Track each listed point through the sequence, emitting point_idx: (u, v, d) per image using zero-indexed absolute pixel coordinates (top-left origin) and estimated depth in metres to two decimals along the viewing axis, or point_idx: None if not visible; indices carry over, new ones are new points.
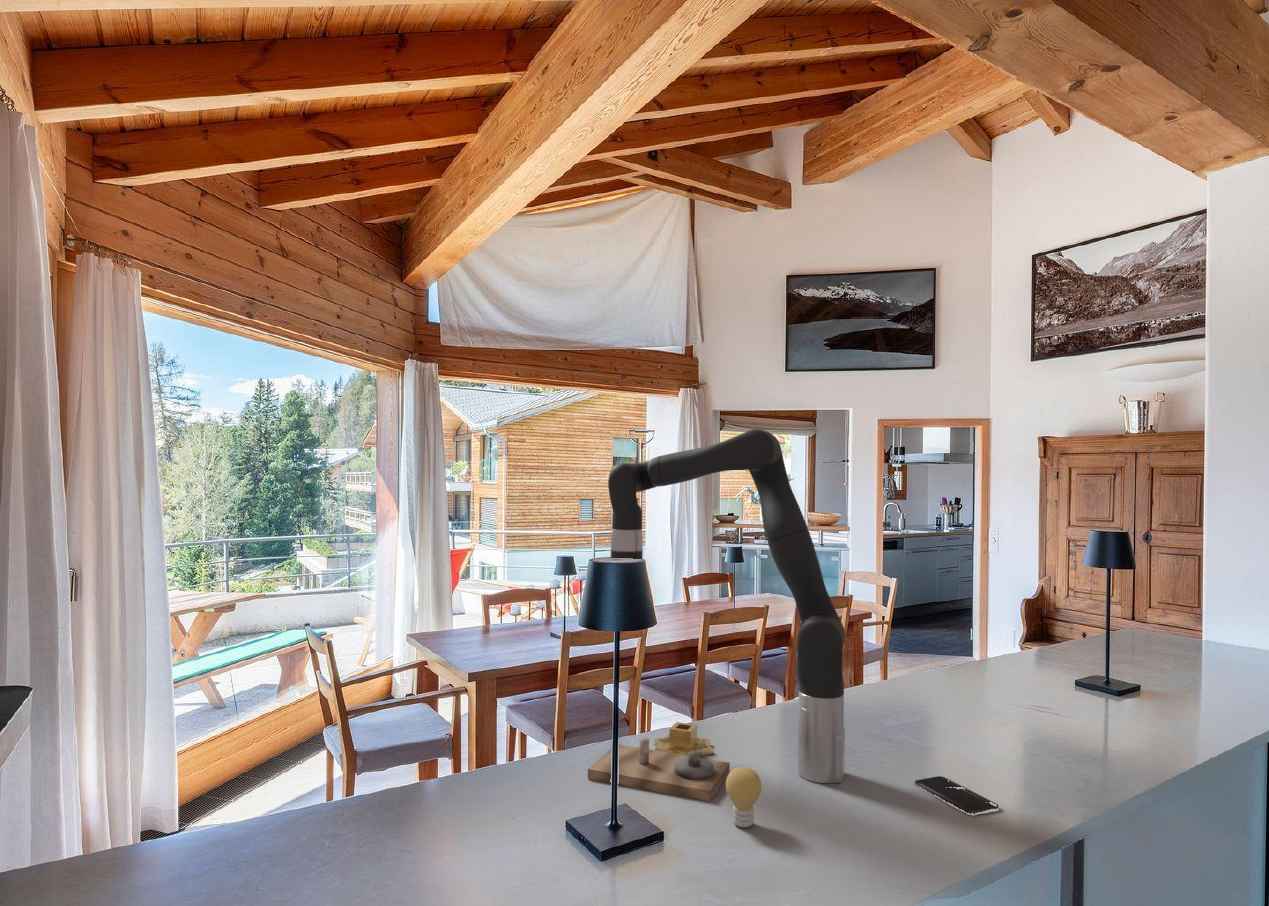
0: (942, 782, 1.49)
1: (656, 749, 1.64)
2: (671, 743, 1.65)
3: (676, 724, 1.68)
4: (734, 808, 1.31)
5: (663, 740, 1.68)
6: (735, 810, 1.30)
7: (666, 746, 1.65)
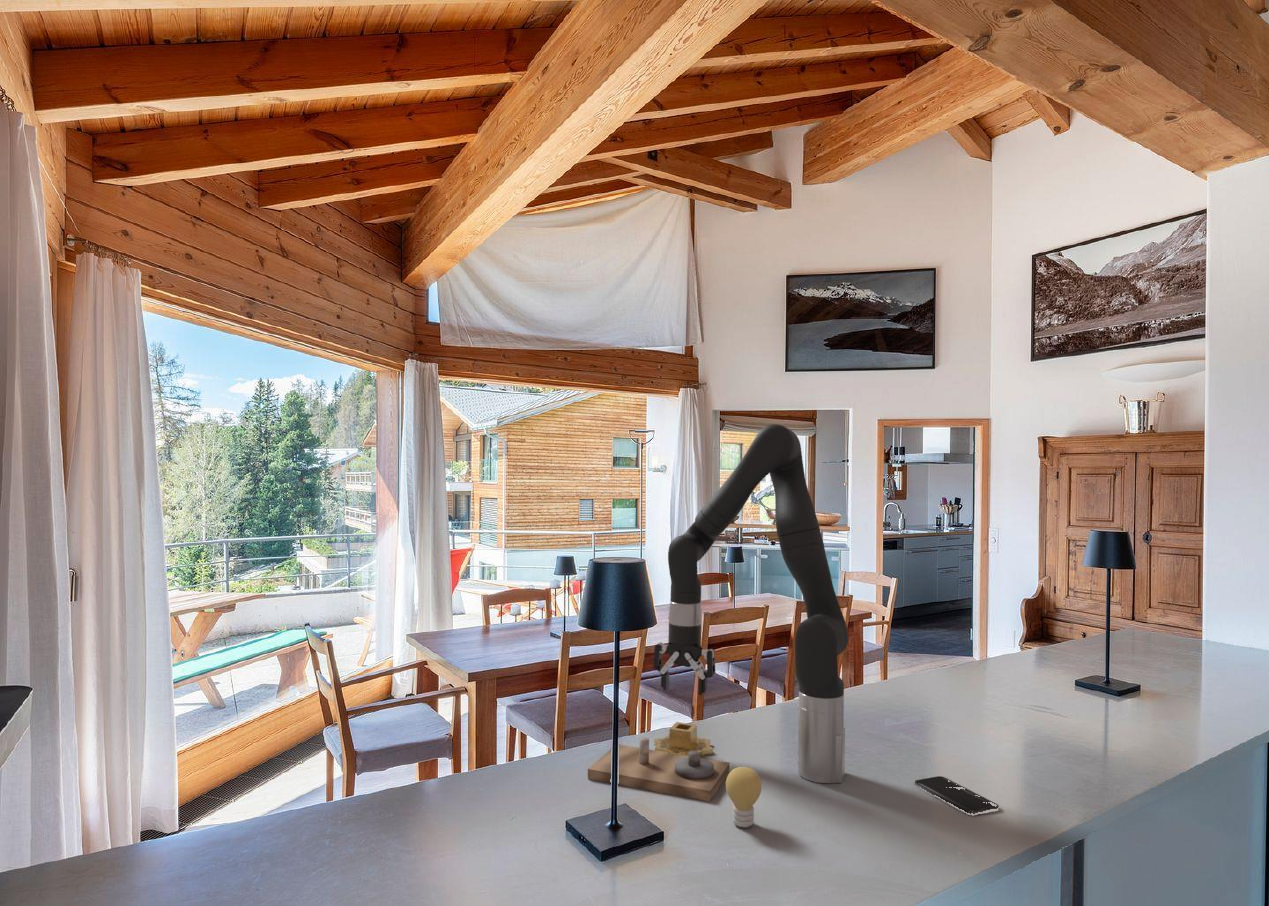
0: (942, 782, 1.49)
1: (656, 749, 1.64)
2: (671, 743, 1.65)
3: (676, 724, 1.68)
4: (734, 808, 1.31)
5: (663, 740, 1.68)
6: (735, 810, 1.30)
7: (666, 746, 1.65)
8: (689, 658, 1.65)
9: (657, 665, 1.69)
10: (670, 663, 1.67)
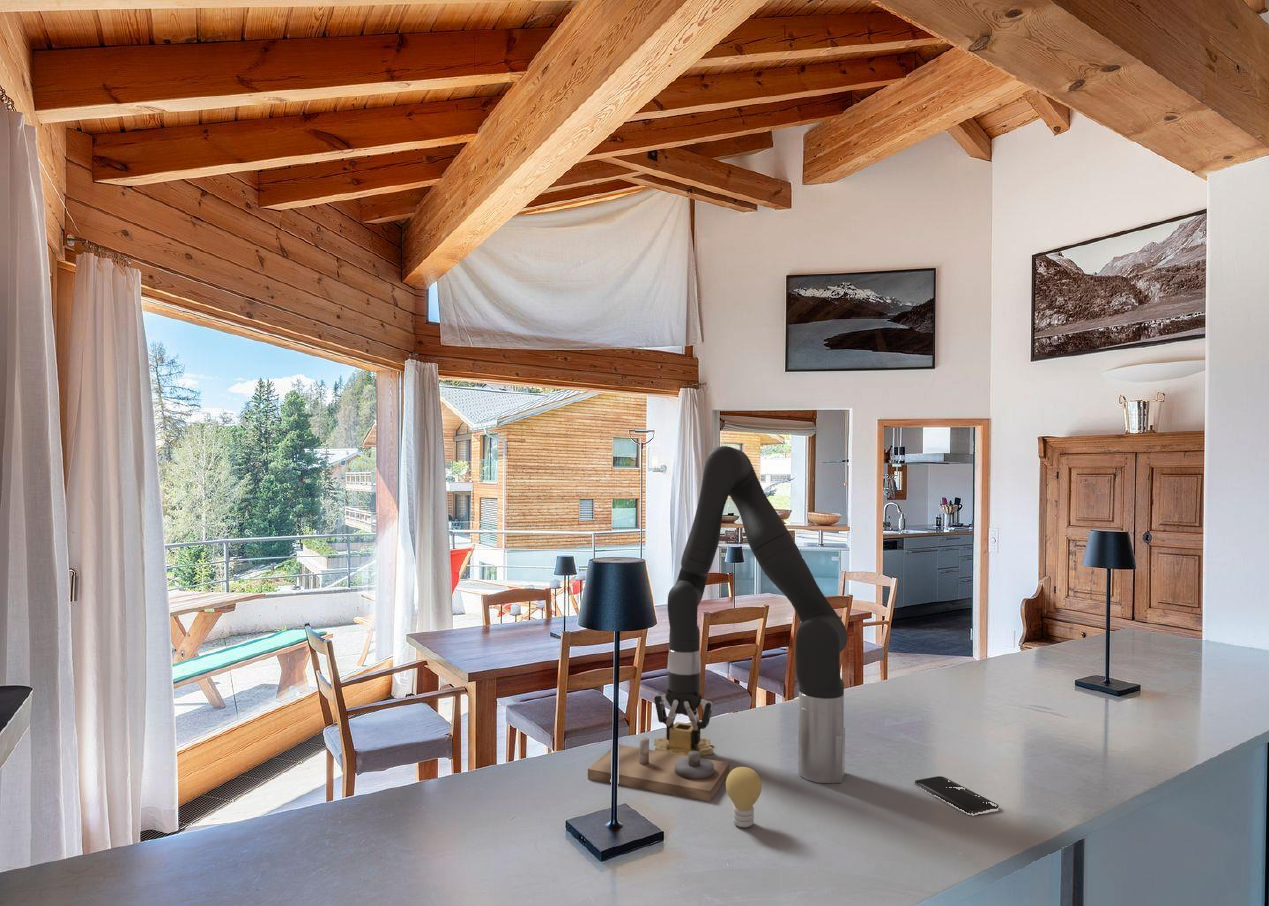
0: (942, 782, 1.49)
1: (656, 749, 1.64)
2: (671, 743, 1.65)
3: (676, 724, 1.68)
4: (734, 808, 1.31)
5: (663, 740, 1.68)
6: (735, 810, 1.30)
7: (666, 746, 1.65)
8: (687, 707, 1.65)
9: (662, 717, 1.68)
10: (672, 713, 1.66)
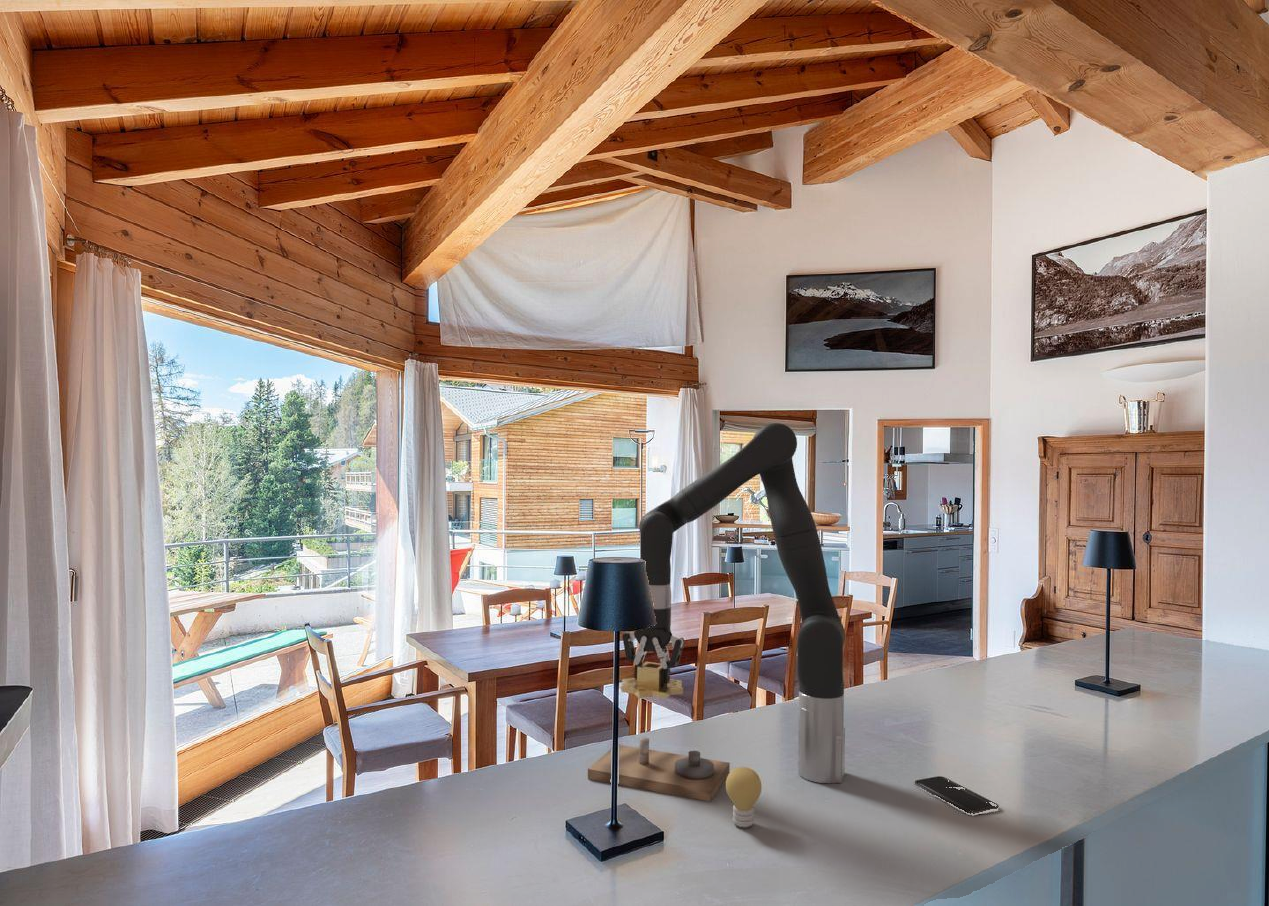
0: (942, 782, 1.49)
1: (622, 687, 1.54)
2: (639, 682, 1.55)
3: (645, 663, 1.59)
4: (734, 808, 1.31)
5: (631, 680, 1.59)
6: (735, 810, 1.30)
7: (633, 685, 1.55)
8: (656, 644, 1.55)
9: (630, 655, 1.58)
10: (641, 650, 1.56)
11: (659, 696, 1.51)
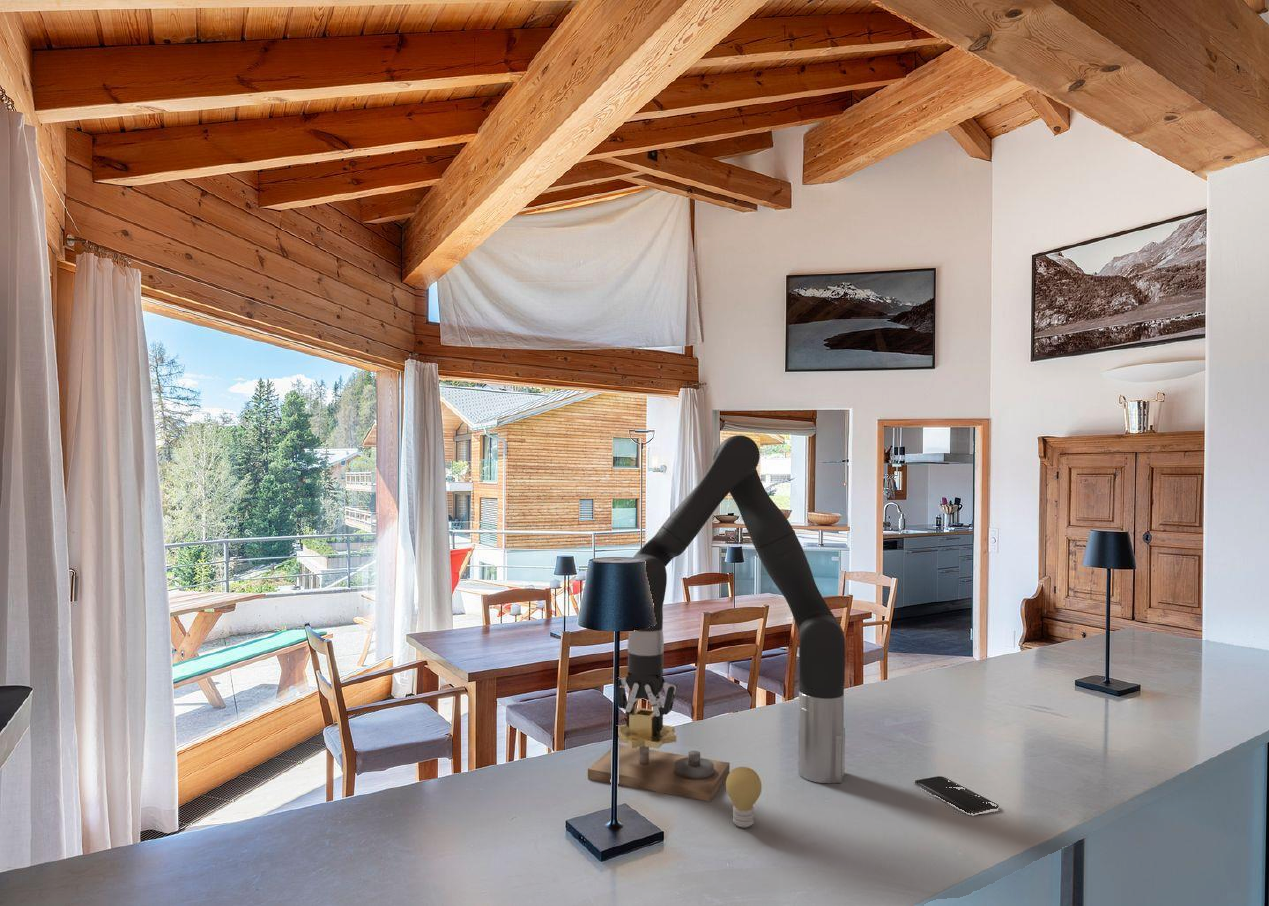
0: (942, 782, 1.49)
1: None
2: (631, 730, 1.52)
3: (637, 710, 1.55)
4: (734, 808, 1.31)
5: (623, 727, 1.55)
6: (735, 810, 1.30)
7: (625, 733, 1.52)
8: (649, 691, 1.51)
9: (621, 702, 1.54)
10: (633, 698, 1.53)
11: (652, 746, 1.47)
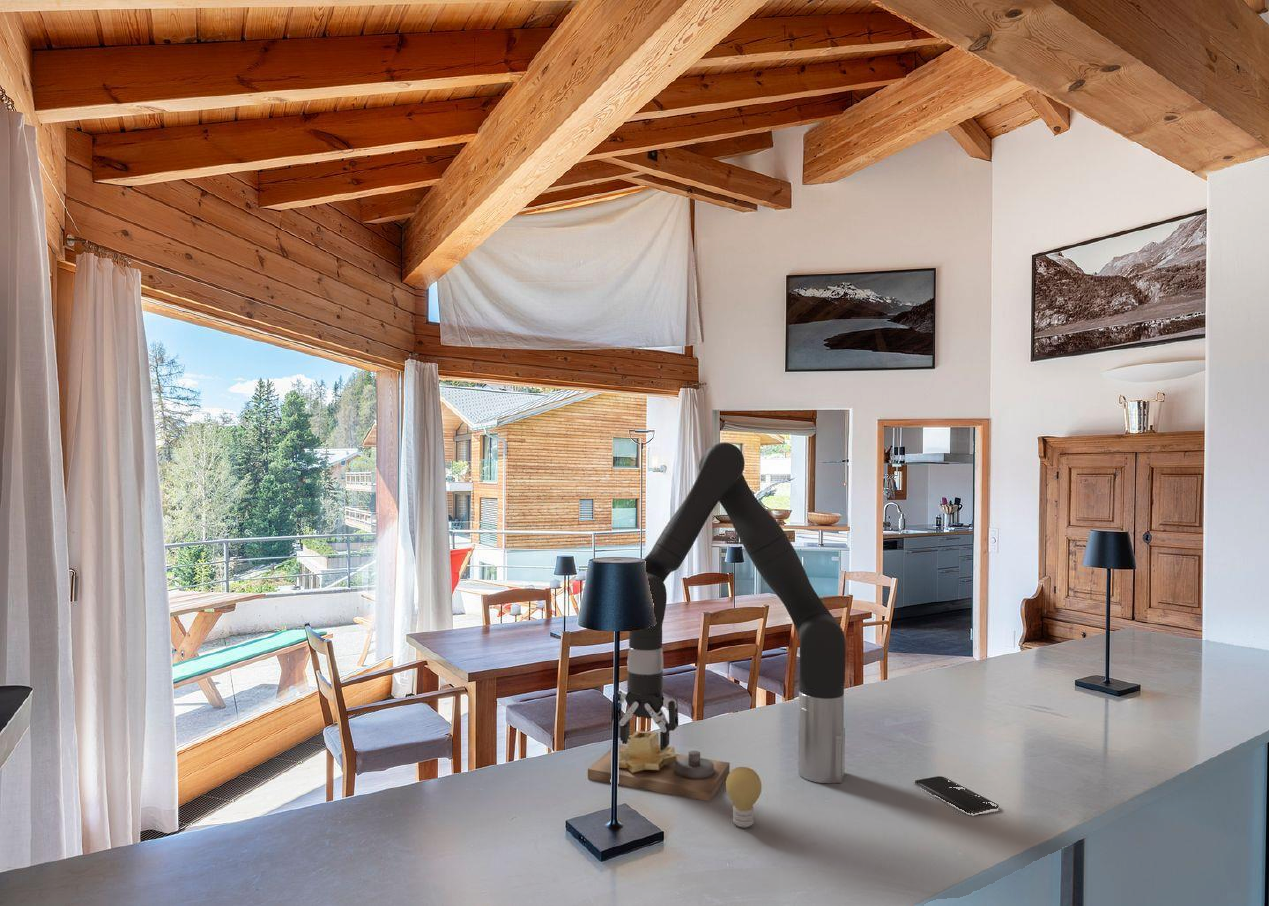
0: (942, 782, 1.49)
1: None
2: (630, 754, 1.52)
3: (635, 733, 1.55)
4: (734, 808, 1.31)
5: (623, 752, 1.55)
6: (735, 810, 1.30)
7: (625, 758, 1.51)
8: (649, 709, 1.51)
9: None
10: (629, 714, 1.53)
11: (652, 768, 1.47)
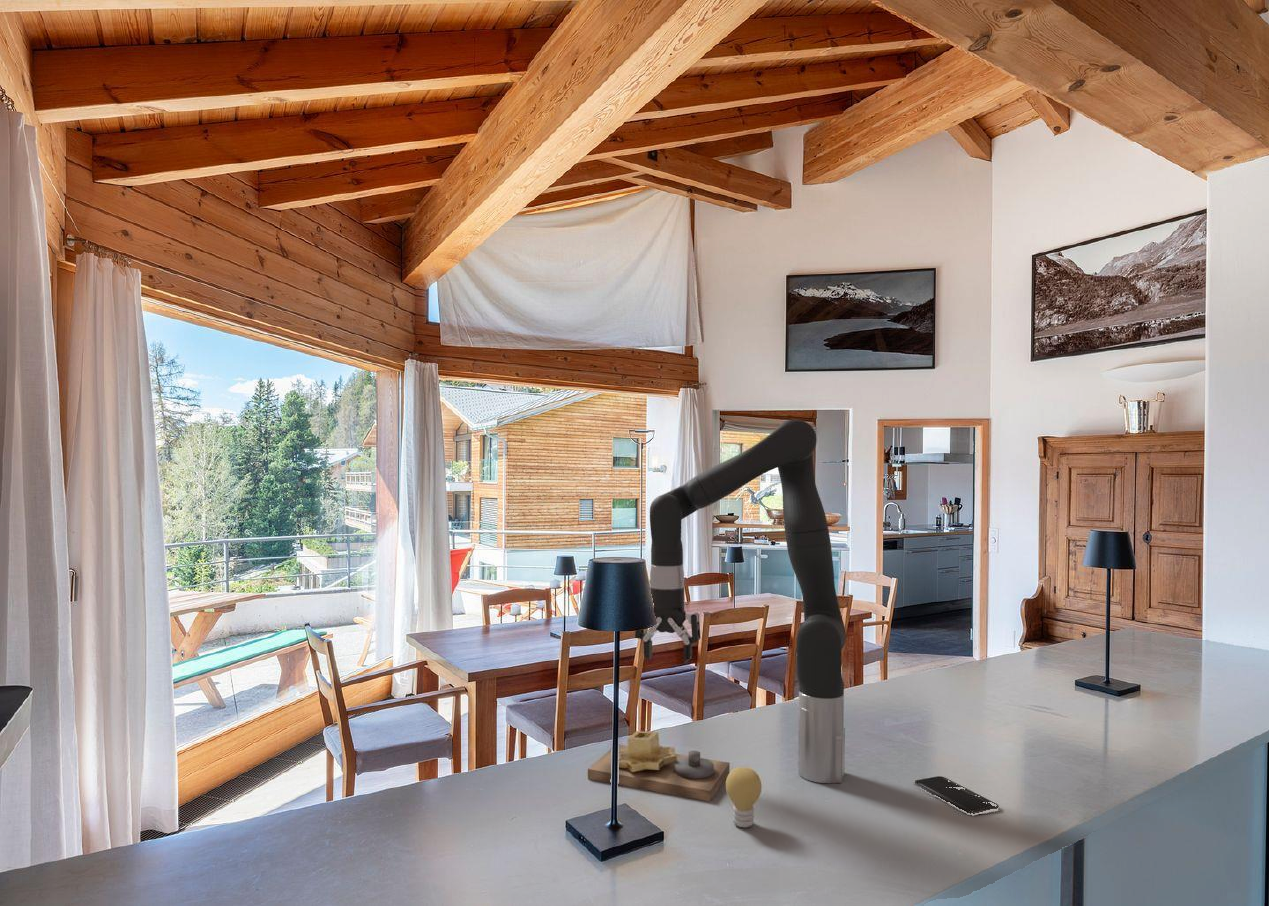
0: (941, 782, 1.49)
1: None
2: (630, 754, 1.52)
3: (635, 733, 1.55)
4: (734, 808, 1.31)
5: (623, 752, 1.55)
6: (735, 810, 1.30)
7: (625, 758, 1.51)
8: (672, 623, 1.57)
9: (639, 633, 1.60)
10: (653, 630, 1.59)
11: (652, 768, 1.47)
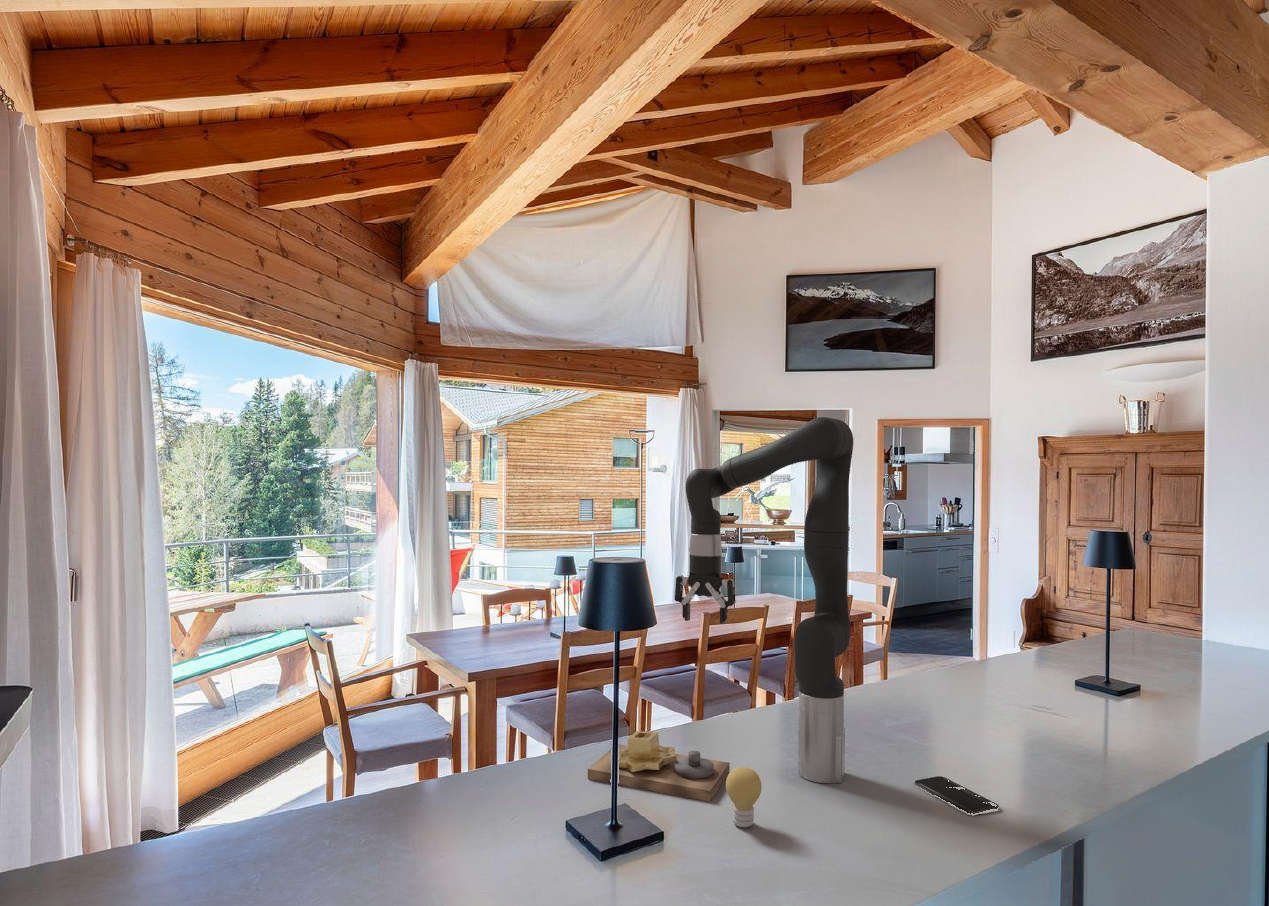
0: (941, 782, 1.49)
1: None
2: (630, 754, 1.52)
3: (635, 733, 1.55)
4: (734, 808, 1.31)
5: (623, 752, 1.55)
6: (735, 810, 1.30)
7: (625, 758, 1.51)
8: (710, 588, 1.70)
9: (678, 596, 1.73)
10: (691, 593, 1.72)
11: (652, 768, 1.47)
